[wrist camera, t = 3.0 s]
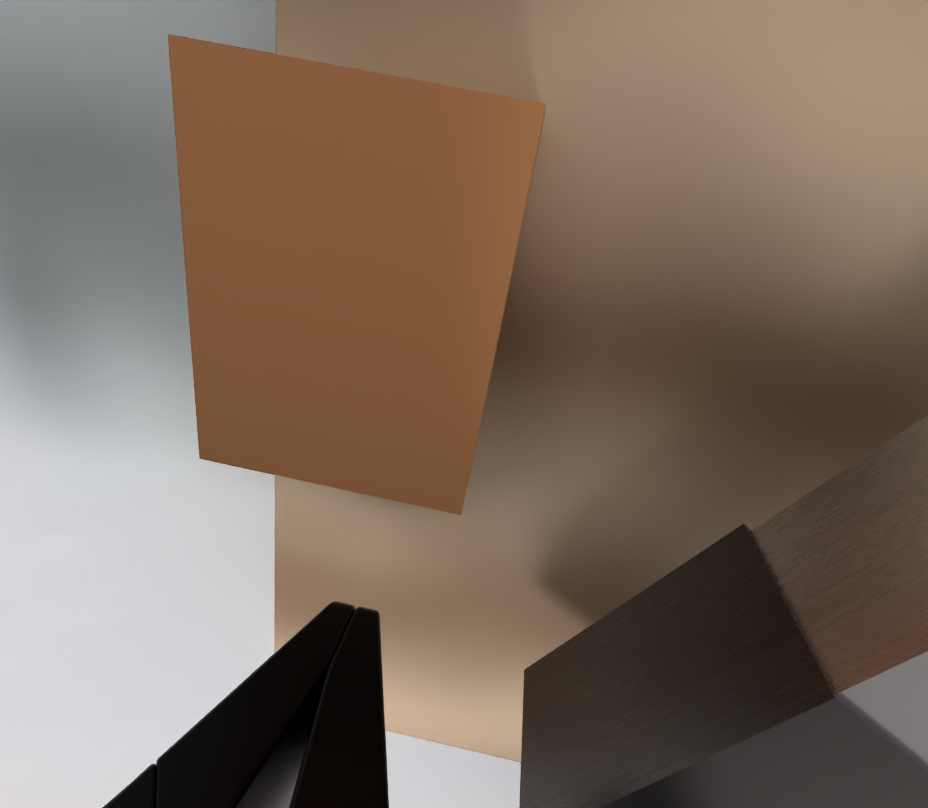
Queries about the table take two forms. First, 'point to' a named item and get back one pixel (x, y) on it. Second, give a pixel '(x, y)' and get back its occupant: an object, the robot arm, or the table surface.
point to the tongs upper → (756, 665)
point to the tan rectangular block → (345, 265)
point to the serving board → (637, 318)
